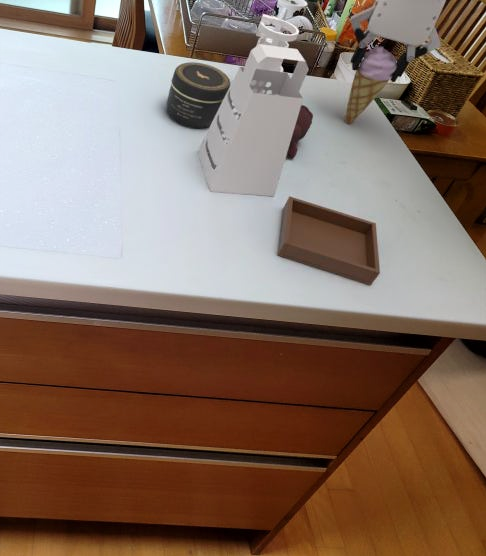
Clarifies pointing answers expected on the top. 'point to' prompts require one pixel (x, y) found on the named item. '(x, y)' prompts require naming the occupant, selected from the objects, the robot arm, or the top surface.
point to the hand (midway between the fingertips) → (373, 72)
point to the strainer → (273, 43)
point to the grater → (254, 126)
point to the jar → (196, 94)
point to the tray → (329, 240)
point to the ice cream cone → (369, 80)
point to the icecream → (300, 129)
